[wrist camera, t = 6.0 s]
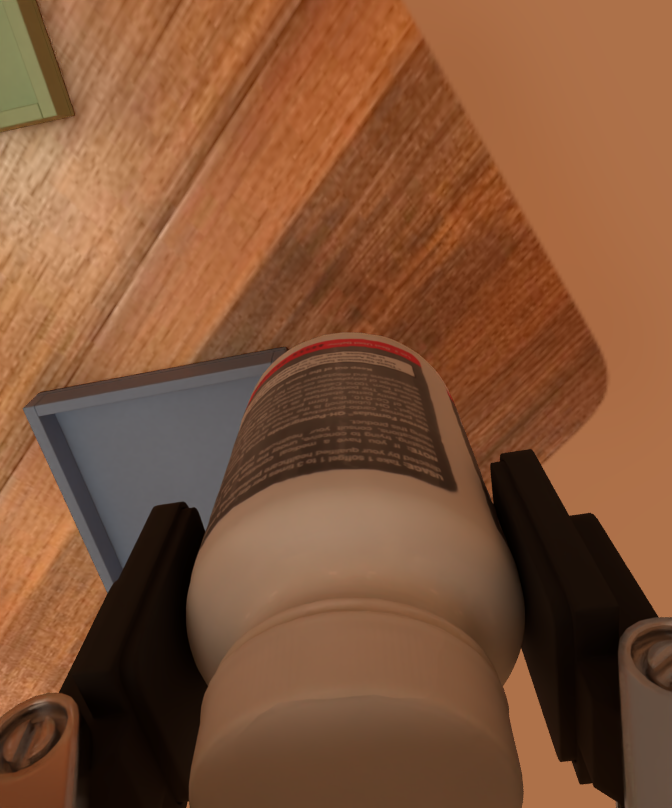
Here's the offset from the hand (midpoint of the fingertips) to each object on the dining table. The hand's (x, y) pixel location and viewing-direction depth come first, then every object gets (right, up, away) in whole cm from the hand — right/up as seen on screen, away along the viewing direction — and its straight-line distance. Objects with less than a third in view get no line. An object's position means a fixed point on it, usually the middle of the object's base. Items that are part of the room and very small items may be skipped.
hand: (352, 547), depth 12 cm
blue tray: (-8, -2, +23) cm, 24 cm away
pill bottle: (0, +2, +5) cm, 5 cm away
